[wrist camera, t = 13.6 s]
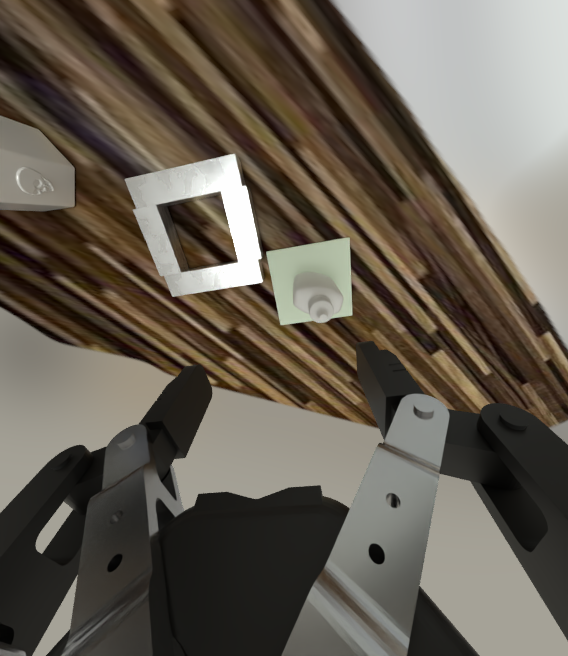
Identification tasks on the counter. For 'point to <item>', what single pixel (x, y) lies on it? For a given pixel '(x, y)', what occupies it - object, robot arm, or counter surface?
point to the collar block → (188, 186)
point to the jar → (32, 170)
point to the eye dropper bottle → (316, 296)
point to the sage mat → (310, 258)
